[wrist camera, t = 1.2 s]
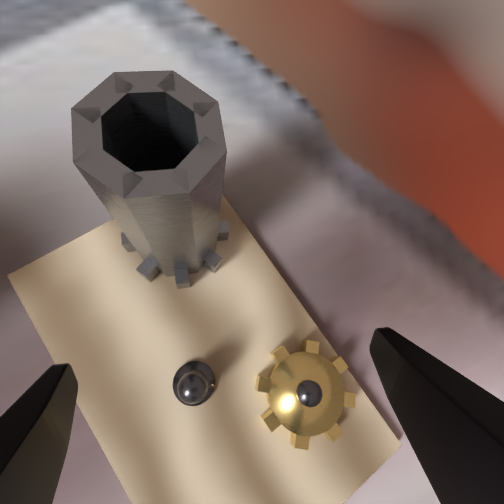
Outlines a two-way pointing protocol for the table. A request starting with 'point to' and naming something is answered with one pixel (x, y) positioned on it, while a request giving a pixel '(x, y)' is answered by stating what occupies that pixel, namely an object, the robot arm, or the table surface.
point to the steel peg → (193, 383)
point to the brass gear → (305, 393)
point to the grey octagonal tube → (156, 168)
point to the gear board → (183, 351)
